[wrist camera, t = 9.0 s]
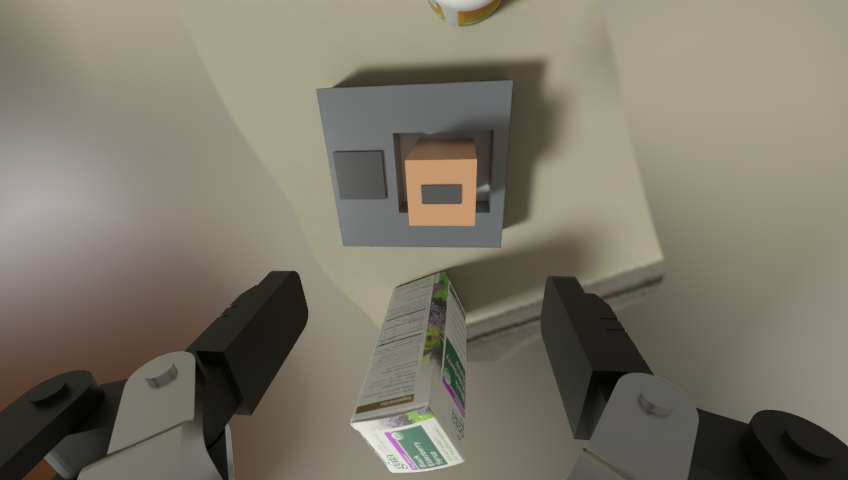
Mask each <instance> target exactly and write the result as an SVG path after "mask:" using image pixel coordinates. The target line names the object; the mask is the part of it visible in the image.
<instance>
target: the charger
mask: <svg viewBox="0 0 848 480" xmlns="http://www.w3.org/2000/svg"><path fill="white" fill-rule="evenodd" d="M405 170H406V184H407V199H408V214H409V226H475V209H476V177H477V156H476V151H475V146H474V140H473V138H458V139H419V140H418V141H417V143H416V144H415V146H414V147H413V149H412V150H411V152H410V153H409V155H408V157H407V158H406V160H405Z"/></svg>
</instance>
